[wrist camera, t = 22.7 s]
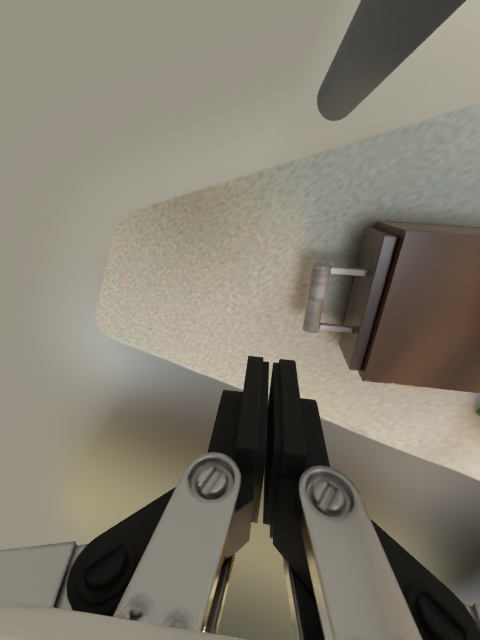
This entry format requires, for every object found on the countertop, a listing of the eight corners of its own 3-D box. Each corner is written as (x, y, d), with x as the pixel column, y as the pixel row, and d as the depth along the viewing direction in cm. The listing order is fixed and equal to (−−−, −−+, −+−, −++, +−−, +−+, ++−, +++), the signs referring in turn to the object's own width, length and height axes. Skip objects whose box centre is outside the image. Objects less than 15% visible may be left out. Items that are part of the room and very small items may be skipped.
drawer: (296, 340, 34) (300, 364, 29) (314, 223, 29) (322, 231, 24) (502, 359, 33) (542, 389, 28) (566, 240, 27) (629, 251, 22)
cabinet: (345, 345, 35) (362, 381, 28) (376, 220, 29) (406, 230, 22) (515, 361, 33) (573, 403, 27) (586, 233, 27) (682, 248, 21)
